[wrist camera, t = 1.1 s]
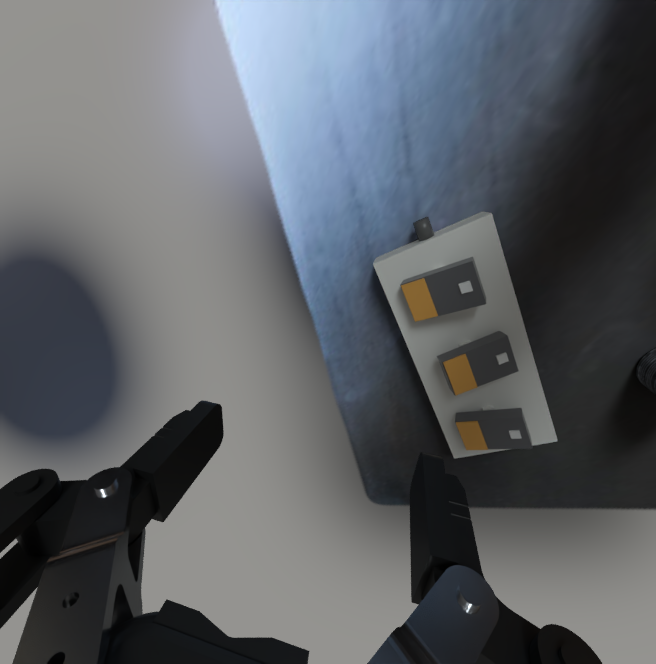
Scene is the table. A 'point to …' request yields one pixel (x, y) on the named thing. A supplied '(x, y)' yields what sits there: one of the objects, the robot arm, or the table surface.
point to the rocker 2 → (478, 362)
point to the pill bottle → (648, 371)
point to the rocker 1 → (444, 290)
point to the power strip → (466, 326)
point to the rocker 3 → (494, 429)
